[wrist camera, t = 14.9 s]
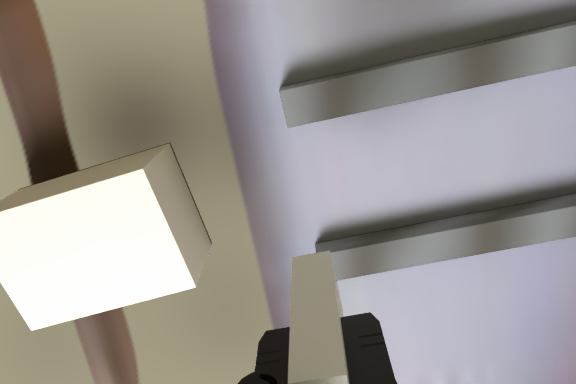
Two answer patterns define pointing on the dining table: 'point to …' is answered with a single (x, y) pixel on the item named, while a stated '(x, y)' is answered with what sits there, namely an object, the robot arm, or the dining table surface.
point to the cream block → (101, 238)
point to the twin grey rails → (427, 83)
